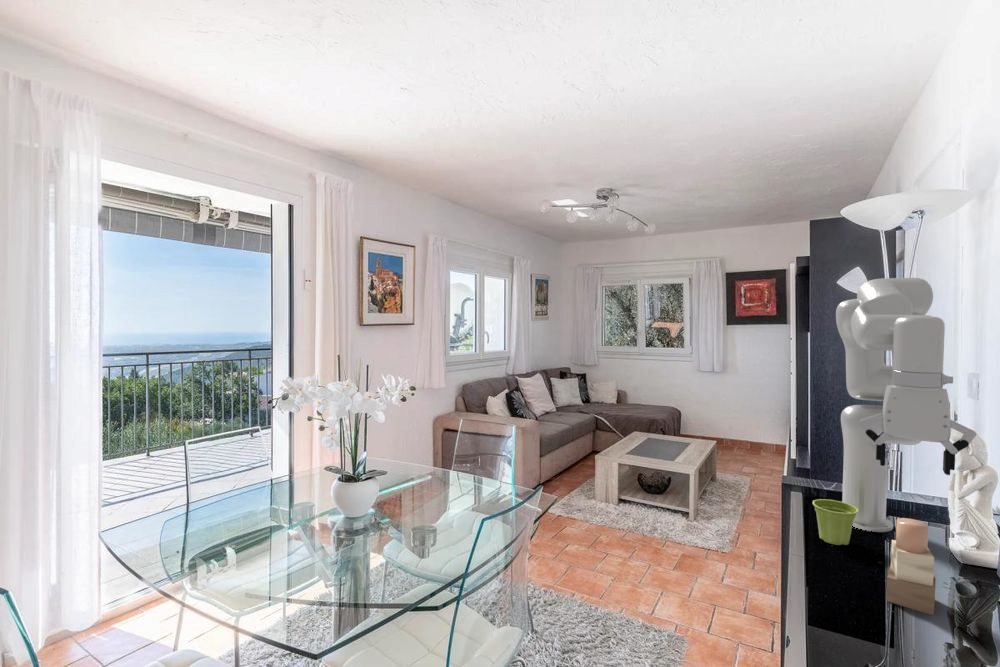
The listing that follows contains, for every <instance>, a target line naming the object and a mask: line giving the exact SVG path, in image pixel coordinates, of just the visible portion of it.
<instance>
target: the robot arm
mask: <svg viewBox="0 0 1000 667" xmlns="http://www.w3.org/2000/svg"><path fill="white" fill-rule="evenodd" d="M933 301H934V292H933V288H932V285H931V284H930V283H929V282H928V281H927V280H925V279H923V278H919V277H892V278H891V277H890V278H887V277H885V278H884V277H882V278H875V279H871V280H867V281H866V282H864V283H863V284H861V285H860V287H859V288H858V289H857V293H856V298H852V299H847V300H843V301H841V302H839V304H838V305H837V307H836V310H835V321H836V322H835V324H836V327H837V330H838V334H839V336H840V338H841V340H842V343H843V345H844V350H845V382H846V390H847V393H848V395H849V396H850V397H851V398H854V399H856V400H861V401H862V400H863V401H873V402H874V401H875V402H883V403H882V405H872V404H871V405H870V404H853V405H849V406H846V407H845V408H844V409H842V411H841V413H840V425H841V433H842V439H843V440H842V441H843V442H842V443H843V460H842V461H843V465H842V466H843V468H842V469H843V470H842V500H841V502H844V503H847V504H850V505H852V506H854V507H856V508H857V509H858V513H857V514H856V516H855V518H854V521H853V525H852V526H853V527H855V528H854V529H856V528H858V529H857V530H860V529H862V530H861V531H865V530H866V531H865V532H871V531H872V533H874V532H875V533H888V532H891V531H892V530H894V523H893V522H892V521H891V520H890V519H888V518H887V516H886V515H887V496H888V495H887V494H888V493H887V492H888V491H887V490H888V488H887V487H888V459H887V457H886V450H887V449H886V448H887V447H886V444H892V445H900V446H901V445H902V446H904V445H905V446H916V445H918V444H920V443H921V442H922V441H923V442H931V443H940V444H941V445H942V446H943V447H944V448H945V449H944V450H943V453H942V454H943V457H942V471H943V473H944V475H946V476H951V471H955V469H956V455H957V454H958V453H959V452H960V451H962V450H964V449H966V448H967V447H969V445H970V443H971V442H972V441H973V440H974V439H975V438H976V436H977V432H976V431H975V430H973V429H972V428H969V427H967V426H965V425H963V424H960V423H959V422H957V421H955V420H953V419H951V407H950V399H949V393H948V389H947V388H944V386H945V385H948V384H952V385H953V383H954V377H953V376H948V375H946V374H945V373H944V355H945V354H944V351H945V330H946V329H945V328H946V326H945V322H944V320H943V319H942V318H941V317H937V316H932V315H927V313H928V312H929V310H930V308H931V306H932V304H933ZM887 351H888V352H889V351H890V352H891V351H892V365H886V363H885V352H887ZM951 429H953V430H955V431H957V432H959V433H961V434H962V436H961V438H960V439H958V440H957V441H955V442H953V443H952V442H951V441H950V439H951V432H952V430H951ZM853 527H852V528H853Z"/></svg>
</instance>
